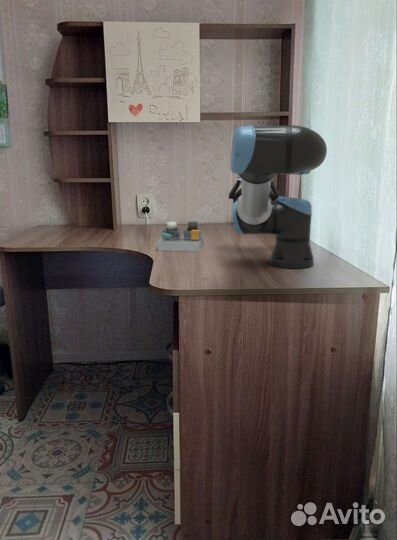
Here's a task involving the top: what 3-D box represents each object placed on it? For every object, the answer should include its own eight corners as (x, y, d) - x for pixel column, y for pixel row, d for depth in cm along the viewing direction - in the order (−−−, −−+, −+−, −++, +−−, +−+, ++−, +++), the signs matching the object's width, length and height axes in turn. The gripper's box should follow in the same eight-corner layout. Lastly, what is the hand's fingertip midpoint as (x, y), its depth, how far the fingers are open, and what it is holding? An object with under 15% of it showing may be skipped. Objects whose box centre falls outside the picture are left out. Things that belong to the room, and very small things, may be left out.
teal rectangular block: (170, 238, 175) (171, 235, 174) (161, 236, 175) (161, 233, 175) (171, 237, 177) (172, 234, 177) (162, 235, 177) (162, 232, 177)
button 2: (196, 230, 179) (196, 223, 179) (187, 230, 180) (187, 222, 179) (197, 228, 183) (197, 221, 182) (188, 228, 184) (188, 221, 183)
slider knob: (198, 239, 173) (198, 231, 172) (191, 239, 173) (191, 230, 173) (199, 238, 176) (199, 229, 175) (192, 238, 176) (192, 229, 175)
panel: (199, 251, 172) (199, 234, 170) (157, 250, 174) (157, 233, 172) (203, 244, 186) (202, 228, 184) (164, 243, 188) (164, 227, 186)
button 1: (175, 229, 180) (175, 222, 180) (166, 229, 181) (166, 222, 180) (177, 228, 184) (177, 221, 183) (168, 228, 185) (168, 221, 184)
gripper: (288, 162, 162) (283, 204, 178) (222, 162, 164) (223, 204, 181) (289, 175, 157) (284, 217, 173) (221, 174, 160) (222, 216, 176)
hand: (253, 210), depth 177 cm, fingers open, 13 cm apart
